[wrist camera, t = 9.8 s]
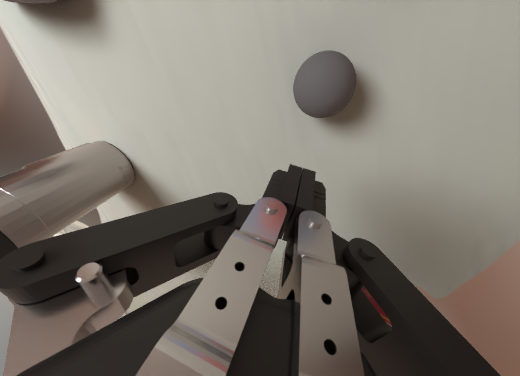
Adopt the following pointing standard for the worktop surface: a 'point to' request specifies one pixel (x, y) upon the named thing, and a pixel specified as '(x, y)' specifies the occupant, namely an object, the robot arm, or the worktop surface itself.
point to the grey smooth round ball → (324, 84)
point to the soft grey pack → (32, 1)
